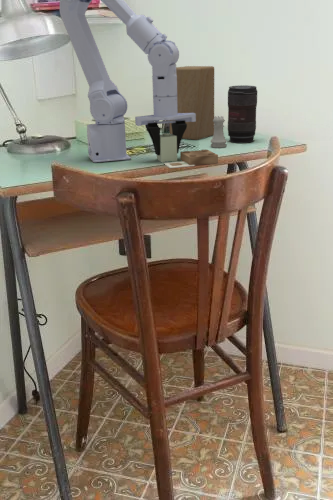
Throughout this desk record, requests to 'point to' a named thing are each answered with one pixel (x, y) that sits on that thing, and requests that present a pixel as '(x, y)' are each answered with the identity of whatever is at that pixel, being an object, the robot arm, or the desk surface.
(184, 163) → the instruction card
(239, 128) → the camera lens
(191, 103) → the wooden block
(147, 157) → the desk surface
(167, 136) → the top brick
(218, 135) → the rook chess piece
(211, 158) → the base brick
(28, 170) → the desk surface
